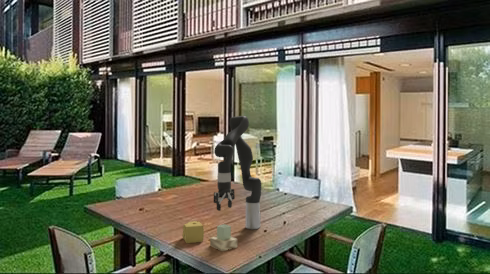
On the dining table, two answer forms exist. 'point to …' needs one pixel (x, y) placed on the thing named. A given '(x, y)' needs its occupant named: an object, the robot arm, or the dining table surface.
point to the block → (224, 232)
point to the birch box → (223, 243)
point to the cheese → (193, 232)
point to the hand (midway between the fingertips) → (224, 208)
